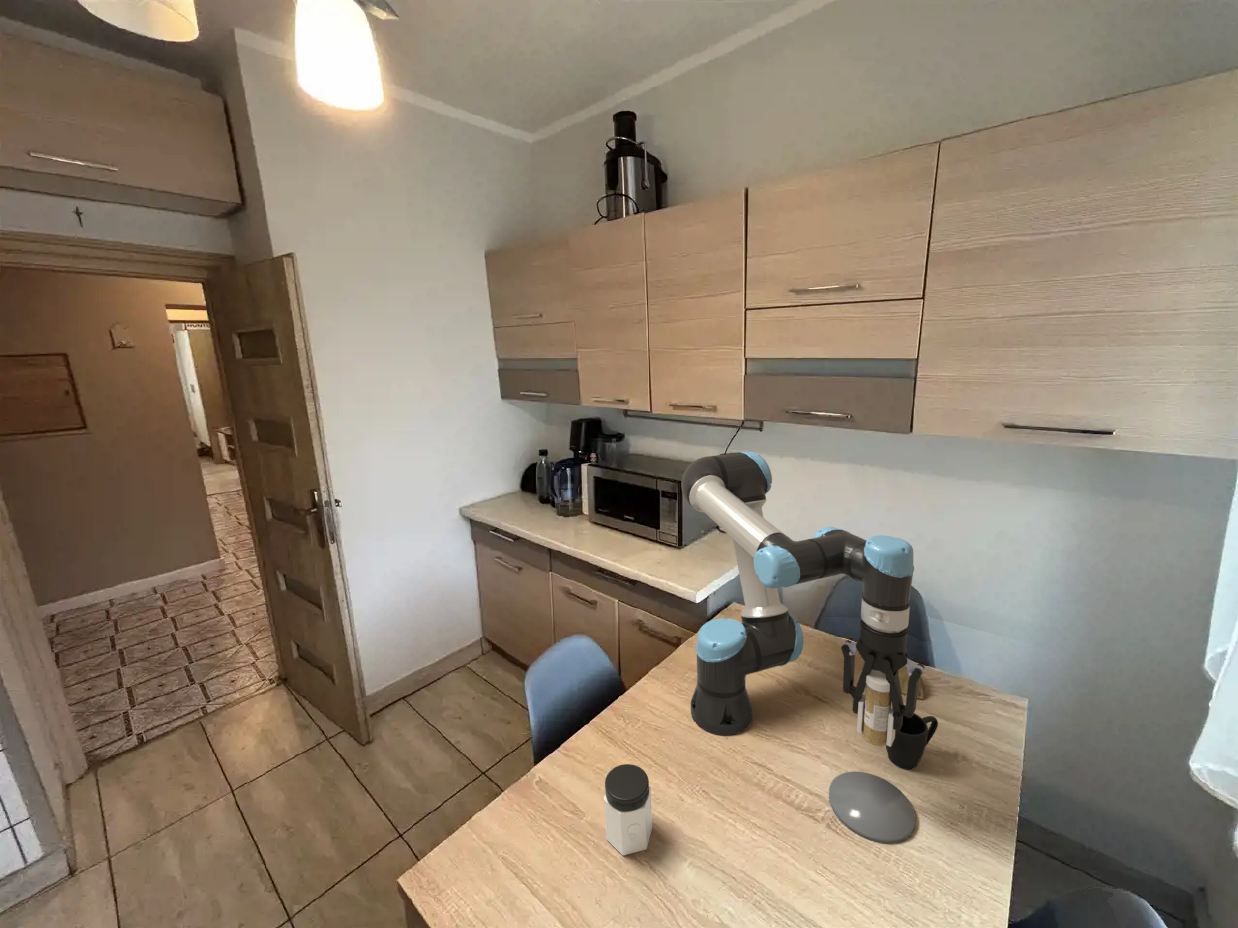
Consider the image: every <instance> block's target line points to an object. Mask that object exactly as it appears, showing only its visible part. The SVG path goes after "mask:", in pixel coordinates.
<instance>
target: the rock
mask: <svg viewBox="0 0 1238 928" xmlns="http://www.w3.org/2000/svg"><path fill="white" fill-rule="evenodd" d="M898 671H899V674H898V676H899V682H900V687H901V692H902V695H905V696H907V689H908V681H909V678H910V675H908V672H907V667H906V666H903V667H902V668H901V669H899V670H898ZM926 696H927V691H926V685H925V684H924V682H923V677H922V675H921V676H920V678H919V685H918V694H917V699H921V700H924V699H926Z"/></svg>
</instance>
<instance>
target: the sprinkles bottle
mask: <svg viewBox="0 0 1238 928" xmlns="http://www.w3.org/2000/svg"><path fill="white" fill-rule="evenodd" d="M889 691H890V684H889V683H888V681H887V680H886V676H885V674H884V673H882V672H880V671H877V670H871V672H870V674H869V675H868V676H867V677H866V687H865V696H866V698H865V709H864V726H863V731H862V733H861V734H862V737H863V739H864V740H865V741H866V742H867V743H869V744H871V745H873V746H878V747H881V746H882V747H885V745H886V742H887V729H888V717H889V713H890V711H891V709H892V702H891V697H890V692H889Z"/></svg>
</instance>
